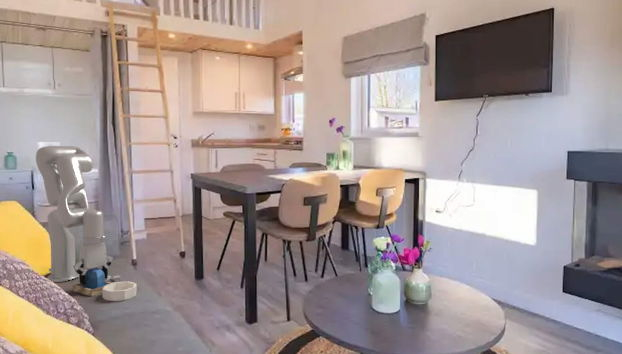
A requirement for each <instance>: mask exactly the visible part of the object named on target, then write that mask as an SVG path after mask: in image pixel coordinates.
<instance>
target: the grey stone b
mask: <svg viewBox="0 0 622 354" xmlns="http://www.w3.org/2000/svg"><path fill="white" fill-rule="evenodd" d="M112 279H113V280H114V281H115V282H117V281H116V280H120V281H121V274H120V275H113V278H112ZM114 281H113V282H114Z"/></svg>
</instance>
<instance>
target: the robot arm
mask: <svg viewBox="0 0 622 354" xmlns="http://www.w3.org/2000/svg"><path fill="white" fill-rule="evenodd" d="M35 163H36V166H37V169H38V170H39V172H40V175H41V177H42V180H43V184H44V190H45V193H46V194H45V195H46V200H47V202H48V205H49V206H51V207H57V208H56V209H53V210H52V211H50V212H49V213H48V214H47V224H48V229H49V235H50V237H49V238H50V268H48V271H49V272H50V274H49V275H48V276H47V278H48V279H50V280H52V281H53V283H60V282H61V283H62V282H69V281H68V280H70V281H73V280H72V279H74V280H76V279H78V278H79V283H80V284H83V285H86V275H85V273H86V272H87V271H88V270H90V269H93V268H96V267H98V268H100V267H101V268H100V269H102V271H103V272H104V273H105V279H107V278H108V276H109V273H108V272H109V268H110V266H111V265H112V261H113V259H114V257H113V256H110V255H107V254H108V252H107V247H106V242H105V241H104V240H105V239H106V235H104V213H103V211H101V210H96V209H95V208H93V207H90V204H89V201H88V200H89V199H88V196H87V191H86V189H85V188H86V183H85V179H84V177H83V174H82V173H90V172H92V170H93V168H94V162H93V160H92V157H91V156H90V154H89V153H87V152H86V151H84V150H83V149H81V148H79V147H78V146H72V145H71V146H70V145H67V146H66V145H63V146H62V145H47V146H42V147H40V148H38V149H37V151H36V154H35ZM70 206H72V207H70ZM79 228H82V241H83V242H82V244H81V245H80V249H79V256H78V257H79V258H78V261H77V262H76V239H75V236H74V235H73V234H72V233H71V232H70V230H73V229H79ZM77 277H78V278H77ZM47 278H46V279H47ZM75 278H76V279H75Z"/></svg>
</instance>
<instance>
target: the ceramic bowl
mask: <svg viewBox="0 0 622 354" xmlns="http://www.w3.org/2000/svg"><path fill="white" fill-rule="evenodd" d="M137 285H138V284H137V283H136V282H133V281H128V280H127V281H115V282H111V284H108V285H105V286H104V288H103V293H102V299H103V300H105V301H107V300H108V302H123V301H127V300H131V299H133V298H135V297H136V295H137V291H138V290H137V287H138V286H137Z"/></svg>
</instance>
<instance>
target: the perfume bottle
mask: <svg viewBox="0 0 622 354" xmlns="http://www.w3.org/2000/svg"><path fill="white" fill-rule="evenodd" d="M85 275H86V285H83V287H85V288H89V289H92V290H93V289H96V288H99V287H103V286H105V273H104V272H103V271H102V269H101V268H99V267H96V268H93V269H88V270H87V272H86V273H85Z"/></svg>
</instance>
